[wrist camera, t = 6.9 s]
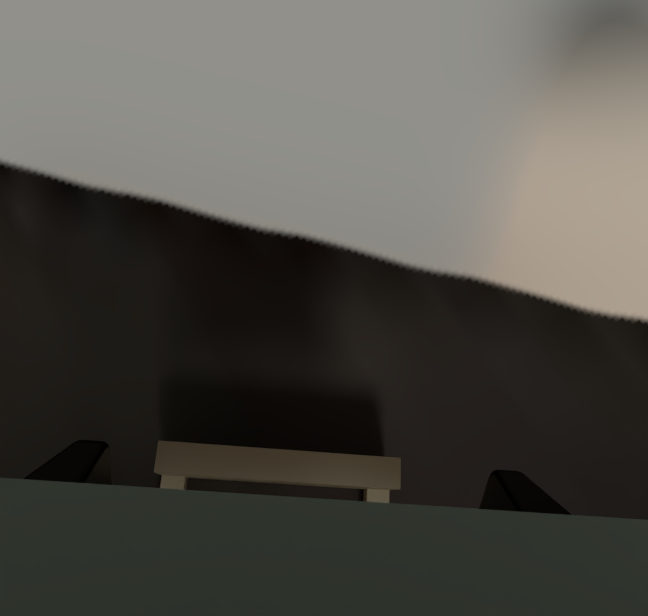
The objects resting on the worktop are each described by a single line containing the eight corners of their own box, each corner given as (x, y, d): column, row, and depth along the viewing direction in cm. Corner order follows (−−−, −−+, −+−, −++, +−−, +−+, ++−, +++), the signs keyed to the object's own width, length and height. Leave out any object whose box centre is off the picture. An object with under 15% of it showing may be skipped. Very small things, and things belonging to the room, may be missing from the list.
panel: (388, 599, 14) (1022, 1052, 2) (158, 587, 14) (-427, 1070, 2) (389, 512, 15) (893, 534, 3) (171, 498, 14) (-215, 463, 3)
